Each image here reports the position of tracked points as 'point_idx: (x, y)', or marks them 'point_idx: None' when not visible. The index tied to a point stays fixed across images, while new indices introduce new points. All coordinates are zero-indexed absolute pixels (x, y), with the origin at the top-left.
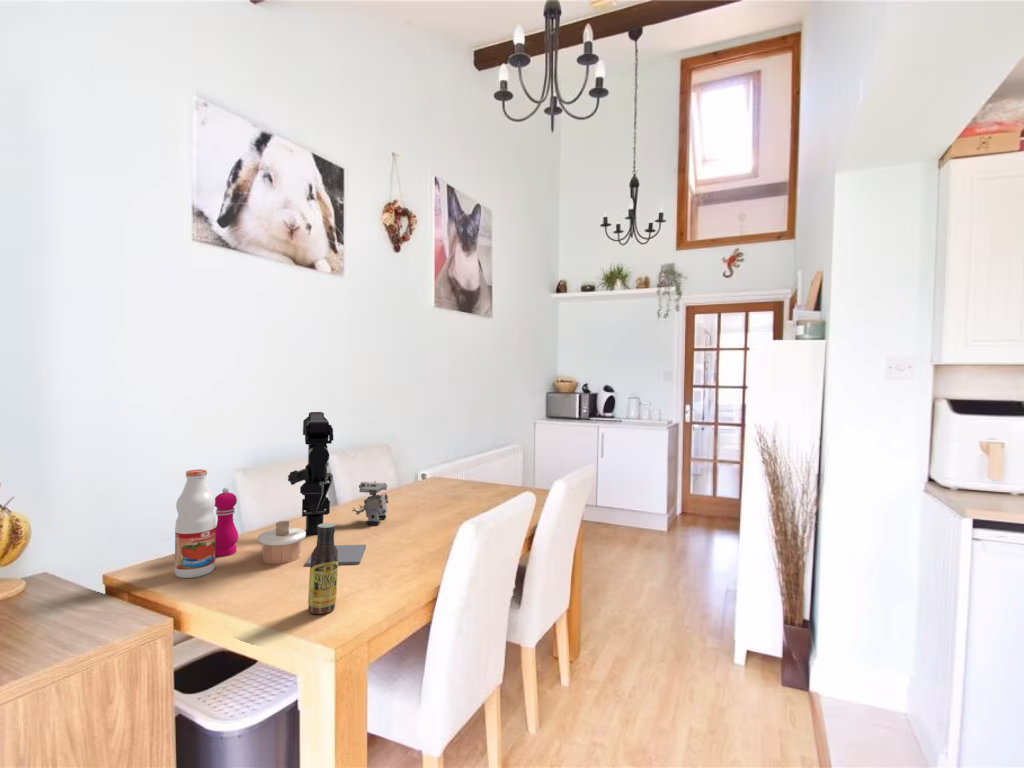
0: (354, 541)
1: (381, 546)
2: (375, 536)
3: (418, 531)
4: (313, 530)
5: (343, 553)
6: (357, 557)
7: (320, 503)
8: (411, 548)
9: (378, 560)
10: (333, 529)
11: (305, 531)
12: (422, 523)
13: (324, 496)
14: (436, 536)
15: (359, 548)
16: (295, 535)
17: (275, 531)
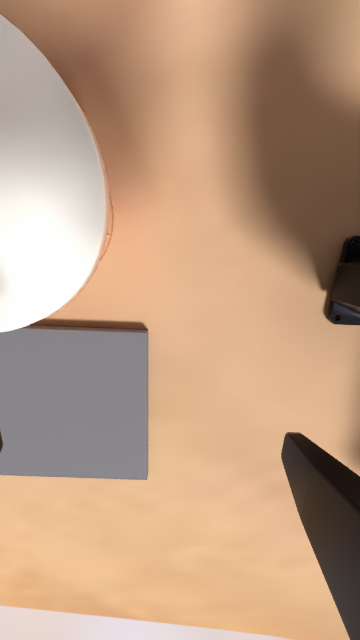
0: (211, 438)
1: (149, 507)
2: (252, 489)
3: (273, 581)
4: (340, 289)
5: (60, 428)
6: (24, 467)
7: (292, 470)
8: (124, 567)
9: (30, 505)
10: None
11: (19, 327)
12: None
13: (343, 613)
14: (216, 612)
15: (108, 466)
16: None
17: (8, 110)
